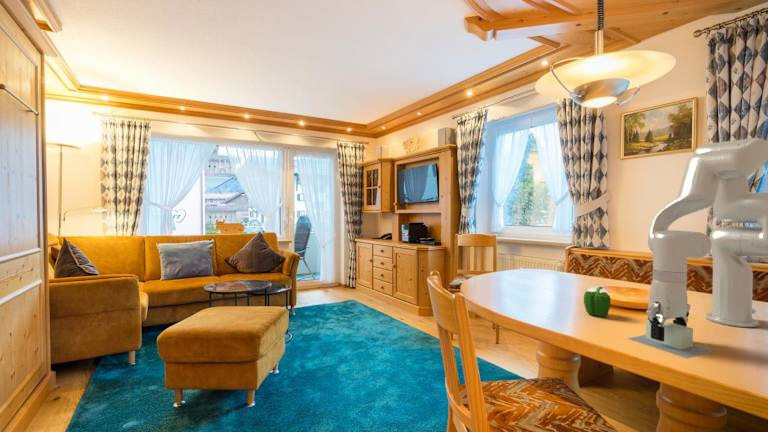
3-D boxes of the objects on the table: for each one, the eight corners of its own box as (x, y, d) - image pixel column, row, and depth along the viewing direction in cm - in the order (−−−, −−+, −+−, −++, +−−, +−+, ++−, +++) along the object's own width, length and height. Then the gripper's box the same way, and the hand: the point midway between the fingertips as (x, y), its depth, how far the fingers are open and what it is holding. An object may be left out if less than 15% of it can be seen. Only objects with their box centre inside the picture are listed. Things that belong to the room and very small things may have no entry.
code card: (654, 333, 109) (654, 332, 109) (715, 351, 95) (715, 351, 95) (627, 339, 105) (627, 338, 105) (686, 359, 91) (686, 358, 91)
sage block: (657, 335, 106) (657, 319, 106) (692, 346, 98) (693, 328, 98) (646, 338, 105) (646, 321, 105) (681, 349, 96) (681, 330, 96)
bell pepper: (596, 319, 123) (596, 290, 122) (578, 312, 131) (579, 285, 131) (617, 317, 124) (617, 289, 124) (598, 311, 132) (599, 284, 132)
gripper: (674, 272, 108) (673, 329, 108) (635, 276, 101) (634, 337, 102) (704, 276, 101) (703, 337, 101) (664, 281, 94) (663, 346, 95)
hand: (668, 337), depth 101 cm, fingers open, 9 cm apart
